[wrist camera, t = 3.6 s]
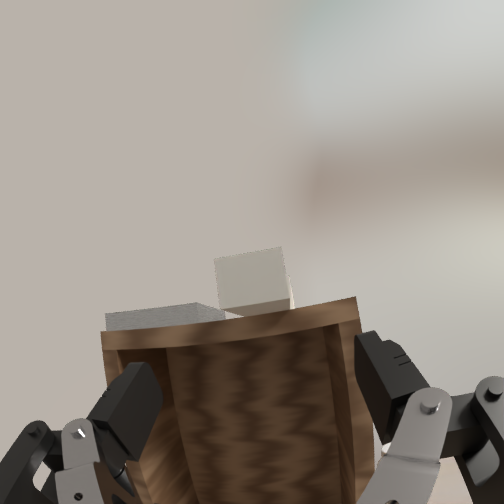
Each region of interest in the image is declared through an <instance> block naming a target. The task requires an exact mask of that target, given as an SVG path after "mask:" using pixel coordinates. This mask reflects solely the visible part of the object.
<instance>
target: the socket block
mask: <svg viewBox="0 0 504 504" xmlns="http://www.w3.org/2000/svg"><path fill="white" fill-rule="evenodd" d="M105 317H106V330H107V331H119V330H133V329H145V328H157V327H167V326H177V325H186V324H195V323H203V322H211V321H219V320H226V318H225V312H224V311H222V310H219V309H216V308H212V307H209V306H206V305H202V304H200V303H190V304H183V305H175V306H168V307H160V308H152V309H143V310H134V311H125V312H116V313H106V314H105Z"/></svg>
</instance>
